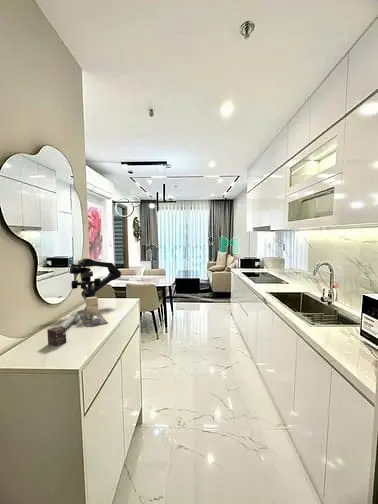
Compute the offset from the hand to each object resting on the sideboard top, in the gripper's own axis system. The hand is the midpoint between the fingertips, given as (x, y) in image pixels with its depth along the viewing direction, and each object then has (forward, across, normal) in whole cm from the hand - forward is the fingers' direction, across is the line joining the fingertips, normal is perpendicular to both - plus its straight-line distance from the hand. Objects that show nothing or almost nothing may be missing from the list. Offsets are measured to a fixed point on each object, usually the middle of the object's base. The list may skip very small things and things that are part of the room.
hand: (87, 293), depth 197 cm
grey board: (+21, 0, -2) cm, 21 cm away
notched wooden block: (+20, 0, -1) cm, 20 cm away
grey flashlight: (+28, -15, -9) cm, 33 cm away
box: (+46, -22, -27) cm, 57 cm away
